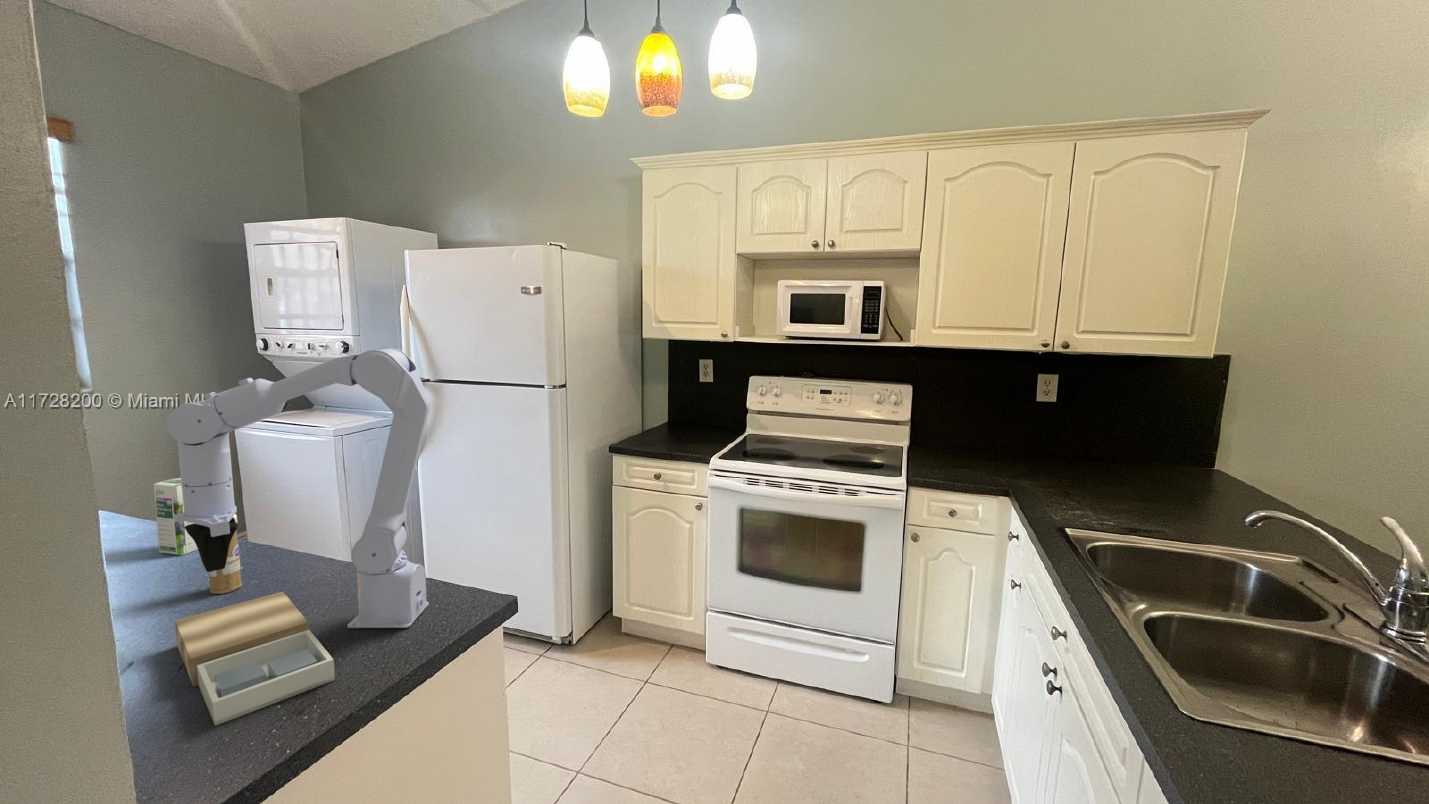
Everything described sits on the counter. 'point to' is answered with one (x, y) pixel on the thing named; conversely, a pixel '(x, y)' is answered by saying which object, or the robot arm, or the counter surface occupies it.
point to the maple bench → (236, 629)
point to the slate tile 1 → (239, 678)
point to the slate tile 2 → (290, 663)
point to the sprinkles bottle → (228, 570)
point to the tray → (272, 688)
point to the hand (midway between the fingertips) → (215, 569)
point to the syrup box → (171, 519)
